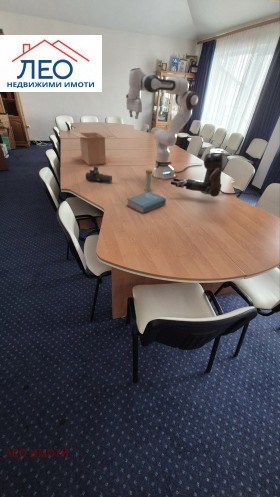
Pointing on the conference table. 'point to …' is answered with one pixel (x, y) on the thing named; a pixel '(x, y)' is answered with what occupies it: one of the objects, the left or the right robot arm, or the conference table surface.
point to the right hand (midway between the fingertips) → (172, 181)
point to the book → (146, 201)
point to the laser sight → (98, 176)
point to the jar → (148, 182)
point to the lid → (149, 171)
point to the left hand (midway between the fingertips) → (133, 118)
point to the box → (92, 146)
